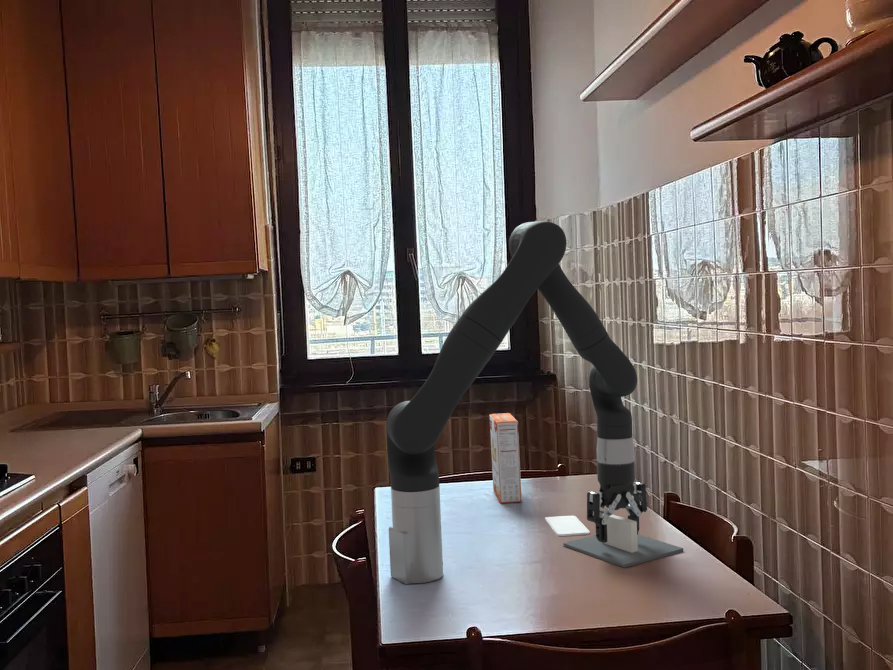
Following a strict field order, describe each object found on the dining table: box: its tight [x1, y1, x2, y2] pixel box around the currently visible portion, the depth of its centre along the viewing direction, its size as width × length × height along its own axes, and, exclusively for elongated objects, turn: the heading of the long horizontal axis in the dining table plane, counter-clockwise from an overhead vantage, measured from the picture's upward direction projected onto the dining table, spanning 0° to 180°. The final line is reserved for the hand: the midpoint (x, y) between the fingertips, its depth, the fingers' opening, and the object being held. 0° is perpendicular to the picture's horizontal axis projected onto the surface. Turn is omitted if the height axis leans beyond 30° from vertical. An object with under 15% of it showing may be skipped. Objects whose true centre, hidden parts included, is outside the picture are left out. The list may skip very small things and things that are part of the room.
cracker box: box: [489, 412, 523, 504], centre depth 222 cm, size 14×6×21 cm, turn 4°
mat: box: [562, 533, 684, 569], centre depth 175 cm, size 16×18×1 cm
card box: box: [601, 514, 638, 553], centre depth 174 cm, size 2×9×6 cm, turn 32°
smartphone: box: [544, 515, 591, 537], centre depth 193 cm, size 7×1×15 cm
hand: (618, 537), depth 175 cm, fingers open, 8 cm apart
